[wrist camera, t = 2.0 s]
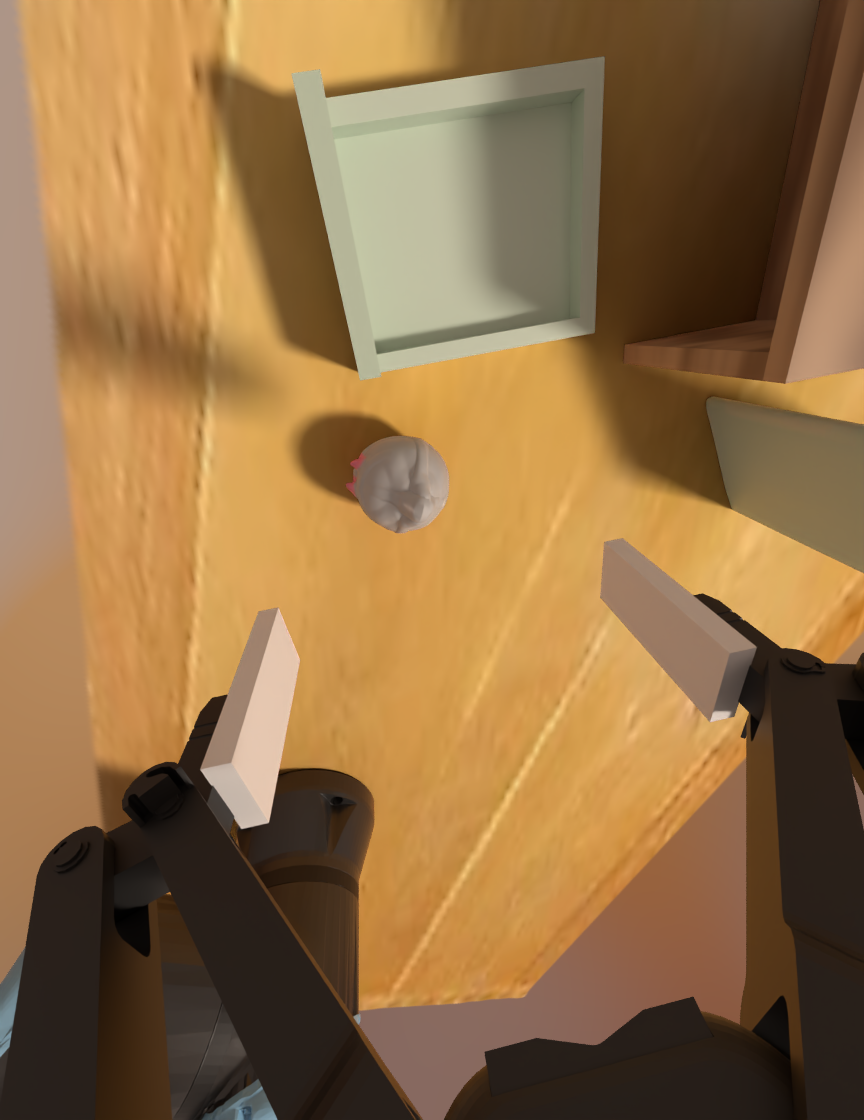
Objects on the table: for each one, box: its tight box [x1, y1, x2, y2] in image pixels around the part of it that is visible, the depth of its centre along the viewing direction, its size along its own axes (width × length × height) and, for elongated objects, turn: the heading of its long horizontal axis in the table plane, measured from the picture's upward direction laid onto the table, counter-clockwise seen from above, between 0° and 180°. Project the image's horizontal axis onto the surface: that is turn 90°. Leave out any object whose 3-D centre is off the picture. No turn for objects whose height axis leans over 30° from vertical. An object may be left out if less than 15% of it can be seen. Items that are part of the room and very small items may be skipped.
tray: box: [292, 56, 605, 380], centre depth 23 cm, size 15×12×5 cm
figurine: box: [346, 436, 449, 533], centre depth 28 cm, size 6×7×8 cm
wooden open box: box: [623, 0, 864, 384], centre depth 20 cm, size 11×17×13 cm, turn 9°
